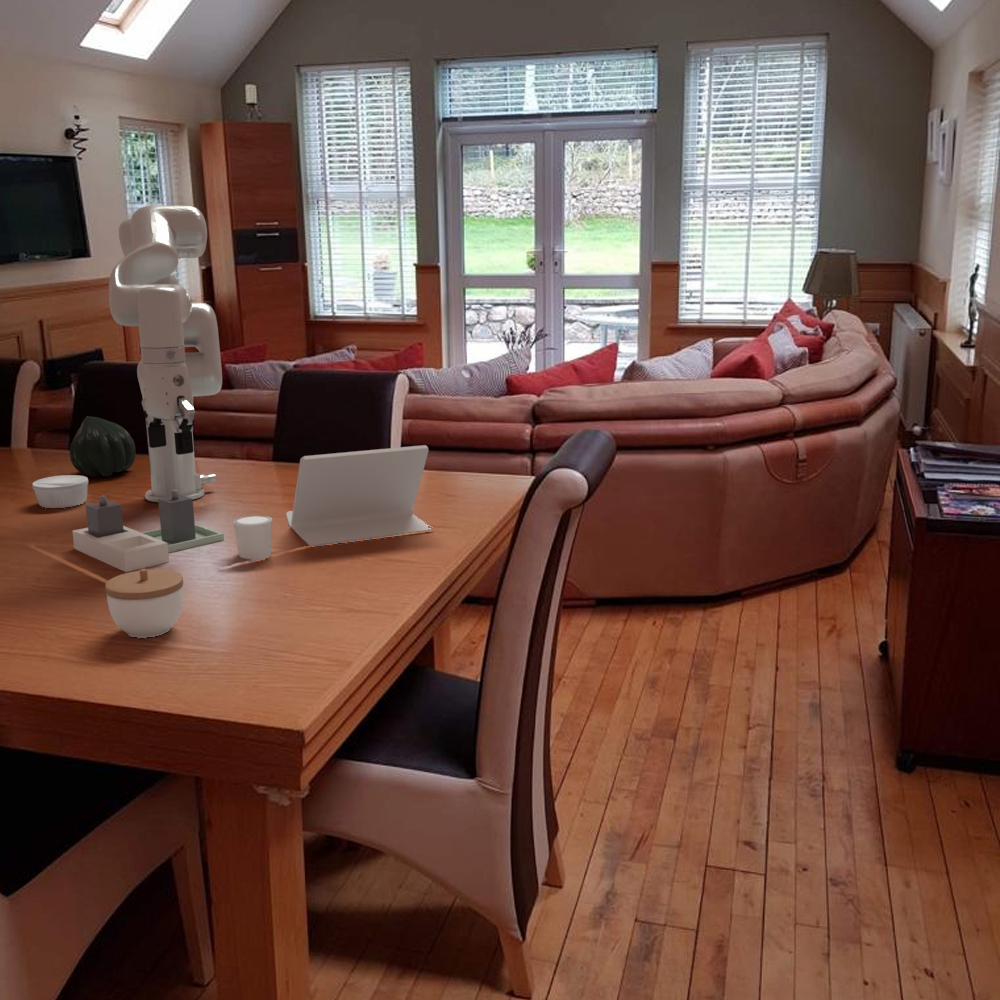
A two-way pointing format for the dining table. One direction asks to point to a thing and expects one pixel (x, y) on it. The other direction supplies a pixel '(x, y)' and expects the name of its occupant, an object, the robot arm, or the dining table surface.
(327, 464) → the tablet stand
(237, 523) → the white cup
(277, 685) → the dining table surface
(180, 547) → the tray
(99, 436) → the squash
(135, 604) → the lidded jar
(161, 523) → the plug
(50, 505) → the ramekin
